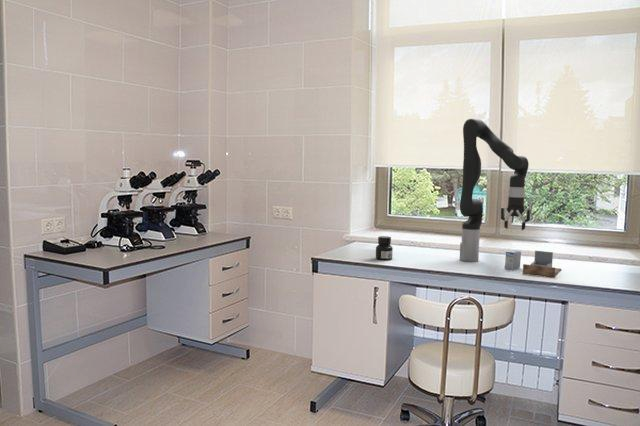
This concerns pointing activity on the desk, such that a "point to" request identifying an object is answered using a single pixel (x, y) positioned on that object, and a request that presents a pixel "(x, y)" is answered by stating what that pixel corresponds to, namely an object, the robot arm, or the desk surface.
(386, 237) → the ink bottle
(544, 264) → the grey open lidded box
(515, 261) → the medicine box
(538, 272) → the backstop
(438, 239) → the desk surface
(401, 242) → the desk surface
